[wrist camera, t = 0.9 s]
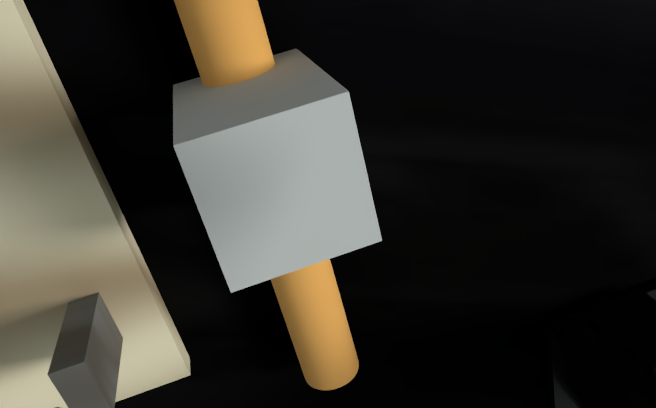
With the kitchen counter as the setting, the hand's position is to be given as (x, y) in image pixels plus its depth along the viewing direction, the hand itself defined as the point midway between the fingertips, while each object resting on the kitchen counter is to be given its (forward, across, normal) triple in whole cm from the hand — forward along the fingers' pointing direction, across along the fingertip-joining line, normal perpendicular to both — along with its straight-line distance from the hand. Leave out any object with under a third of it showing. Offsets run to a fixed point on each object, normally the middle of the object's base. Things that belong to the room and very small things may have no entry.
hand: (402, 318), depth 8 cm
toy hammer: (+12, +1, 0) cm, 12 cm away
